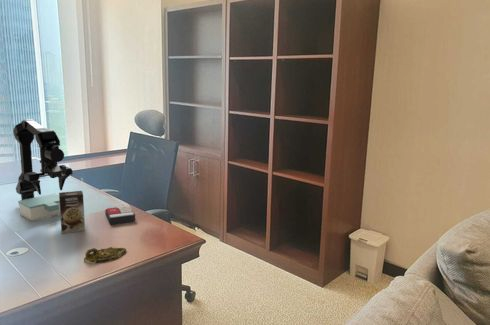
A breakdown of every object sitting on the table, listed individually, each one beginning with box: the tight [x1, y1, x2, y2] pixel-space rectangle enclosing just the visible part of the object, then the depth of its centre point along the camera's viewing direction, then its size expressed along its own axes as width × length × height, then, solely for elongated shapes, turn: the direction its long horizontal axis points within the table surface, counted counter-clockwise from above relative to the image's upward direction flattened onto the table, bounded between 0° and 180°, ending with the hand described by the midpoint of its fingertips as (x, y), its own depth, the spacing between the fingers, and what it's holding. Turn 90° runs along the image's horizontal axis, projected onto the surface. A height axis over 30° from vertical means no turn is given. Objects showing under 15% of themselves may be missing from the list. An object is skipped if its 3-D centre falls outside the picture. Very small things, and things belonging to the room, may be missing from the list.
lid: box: [18, 193, 60, 212], centre depth 174 cm, size 17×16×2 cm
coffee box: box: [58, 190, 86, 234], centre depth 158 cm, size 9×6×16 cm
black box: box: [104, 205, 136, 226], centre depth 173 cm, size 11×4×15 cm
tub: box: [18, 202, 60, 222], centre depth 176 cm, size 12×16×6 cm
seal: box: [83, 246, 127, 264], centre depth 136 cm, size 9×5×15 cm
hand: (50, 192), depth 169 cm, fingers open, 9 cm apart
